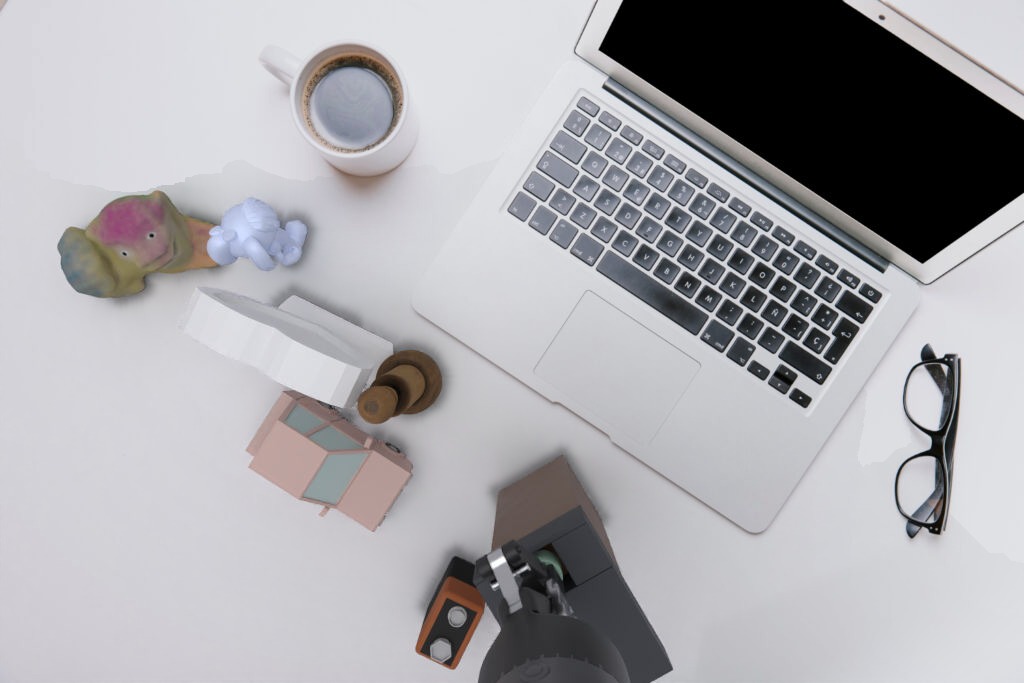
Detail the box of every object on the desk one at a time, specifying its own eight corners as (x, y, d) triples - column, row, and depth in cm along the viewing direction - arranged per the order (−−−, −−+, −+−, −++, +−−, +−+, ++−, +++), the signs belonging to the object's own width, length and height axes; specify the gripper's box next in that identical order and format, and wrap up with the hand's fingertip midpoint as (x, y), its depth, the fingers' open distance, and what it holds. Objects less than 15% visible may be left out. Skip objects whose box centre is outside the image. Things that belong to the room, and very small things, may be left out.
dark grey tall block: (622, 545, 71) (674, 670, 47) (549, 587, 71) (562, 731, 47) (562, 444, 70) (584, 517, 46) (489, 486, 71) (472, 580, 47)
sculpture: (109, 316, 70) (40, 318, 60) (74, 241, 70) (-1, 231, 60) (235, 259, 70) (187, 252, 60) (200, 183, 69) (146, 163, 59)
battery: (426, 608, 72) (410, 658, 62) (453, 552, 71) (442, 594, 61) (463, 626, 72) (453, 679, 62) (490, 570, 71) (485, 614, 61)
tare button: (567, 573, 48) (569, 585, 46) (536, 591, 48) (537, 603, 46) (549, 542, 48) (550, 553, 46) (518, 560, 48) (518, 571, 46)
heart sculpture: (409, 351, 69) (363, 363, 51) (389, 395, 70) (335, 422, 52) (276, 286, 70) (184, 275, 52) (256, 329, 70) (157, 333, 52)
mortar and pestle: (373, 402, 70) (321, 437, 52) (387, 343, 70) (340, 357, 52) (434, 417, 70) (404, 457, 52) (448, 358, 70) (423, 377, 52)
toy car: (379, 526, 71) (356, 563, 61) (258, 449, 71) (214, 473, 61) (427, 453, 71) (411, 479, 61) (304, 375, 70) (268, 387, 60)
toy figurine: (318, 215, 69) (276, 197, 57) (311, 277, 70) (267, 272, 58) (253, 206, 69) (197, 186, 57) (245, 267, 70) (188, 260, 58)
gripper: (405, 658, 29) (448, 524, 46) (559, 911, 29) (545, 685, 47) (556, 572, 28) (542, 470, 46) (709, 830, 29) (639, 632, 46)
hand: (544, 579), depth 46 cm, fingers closed
